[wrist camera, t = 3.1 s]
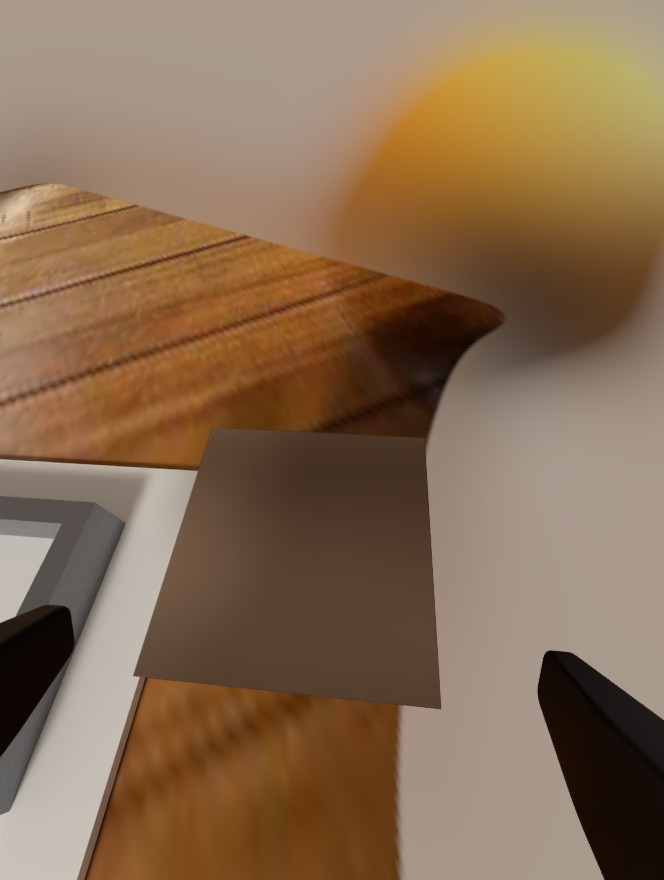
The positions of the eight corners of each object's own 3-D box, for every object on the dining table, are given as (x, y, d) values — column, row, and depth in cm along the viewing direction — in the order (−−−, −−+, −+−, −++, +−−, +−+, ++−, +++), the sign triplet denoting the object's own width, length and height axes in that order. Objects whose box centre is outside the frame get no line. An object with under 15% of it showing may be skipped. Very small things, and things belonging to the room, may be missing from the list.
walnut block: (385, 687, 14) (441, 709, 6) (258, 674, 14) (132, 676, 6) (386, 556, 17) (424, 437, 8) (279, 548, 17) (212, 427, 9)
